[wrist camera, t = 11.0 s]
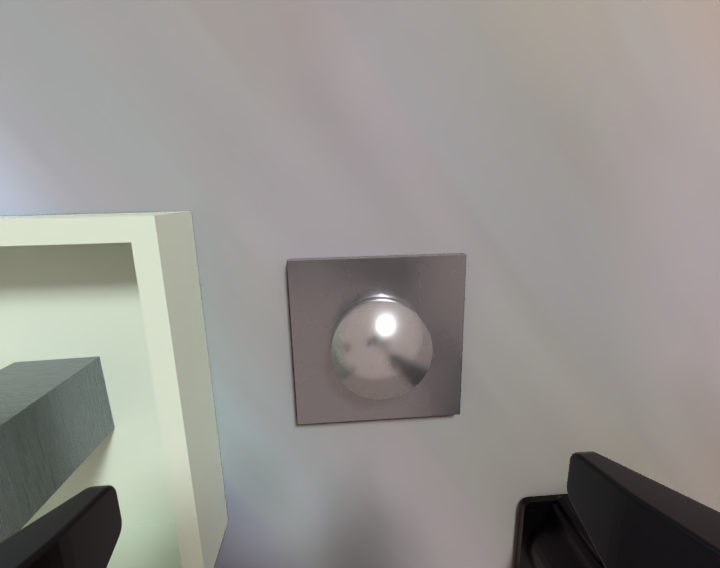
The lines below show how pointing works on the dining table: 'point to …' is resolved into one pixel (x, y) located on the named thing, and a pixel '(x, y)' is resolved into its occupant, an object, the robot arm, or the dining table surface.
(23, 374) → the strut
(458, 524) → the dining table surface
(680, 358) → the dining table surface
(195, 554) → the bin
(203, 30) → the dining table surface
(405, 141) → the dining table surface
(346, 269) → the stud
